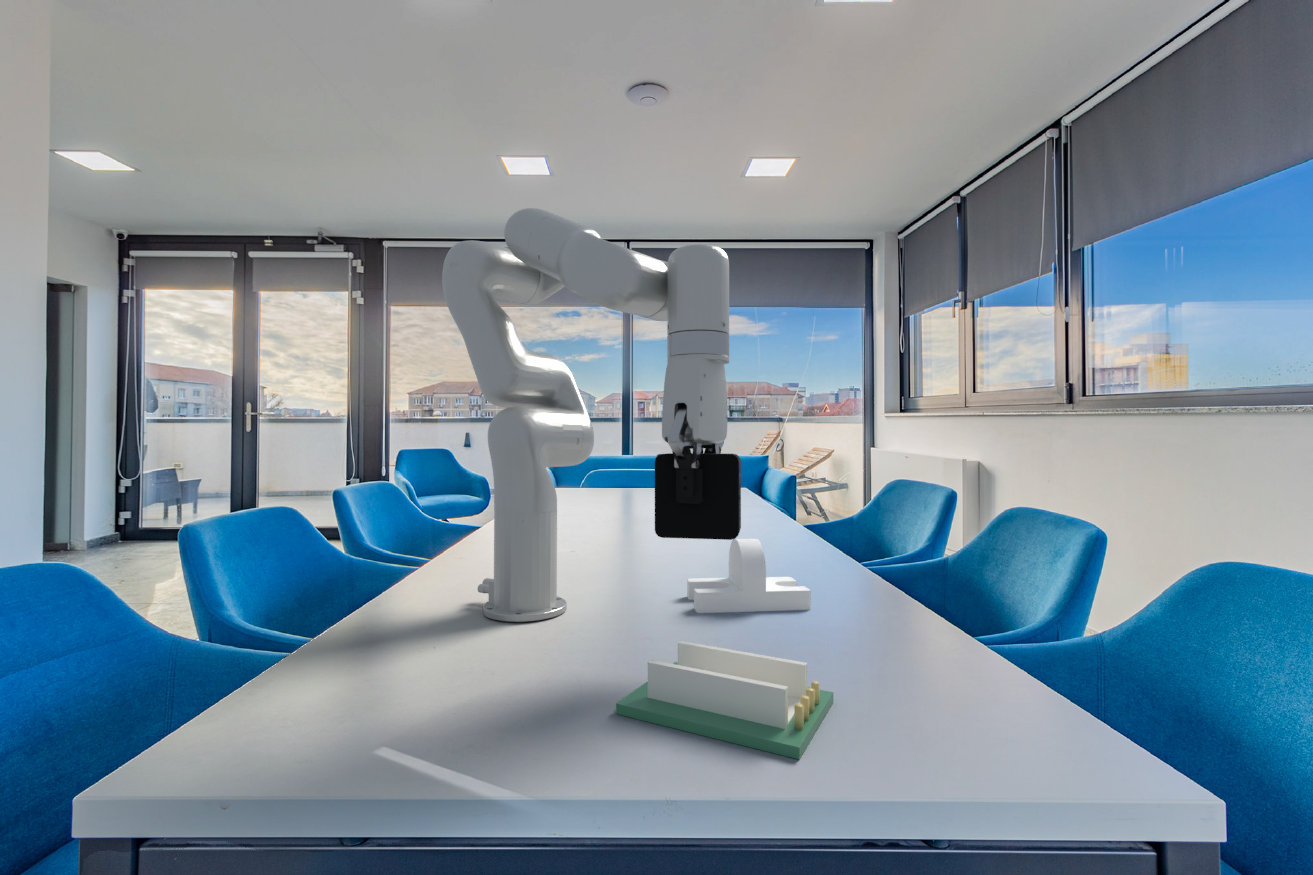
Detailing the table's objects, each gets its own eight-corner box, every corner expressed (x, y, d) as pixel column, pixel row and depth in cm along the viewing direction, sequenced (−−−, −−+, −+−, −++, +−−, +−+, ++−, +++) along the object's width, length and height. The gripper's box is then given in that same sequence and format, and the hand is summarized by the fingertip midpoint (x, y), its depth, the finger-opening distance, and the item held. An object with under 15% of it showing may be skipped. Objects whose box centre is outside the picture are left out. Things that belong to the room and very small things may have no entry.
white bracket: (790, 598, 106) (790, 533, 106) (810, 614, 97) (811, 543, 97) (686, 600, 104) (687, 534, 104) (696, 617, 95) (697, 544, 95)
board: (616, 713, 60) (616, 667, 60) (675, 670, 72) (675, 631, 72) (799, 759, 52) (799, 705, 52) (833, 701, 63) (833, 657, 63)
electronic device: (738, 540, 72) (738, 454, 72) (654, 537, 74) (654, 453, 74) (740, 534, 76) (740, 453, 76) (661, 532, 78) (661, 453, 78)
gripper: (697, 361, 85) (697, 495, 84) (637, 343, 69) (637, 506, 69) (750, 357, 81) (750, 497, 81) (699, 338, 66) (699, 509, 66)
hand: (698, 499), depth 75 cm, fingers closed on electronic device, 4 cm apart
